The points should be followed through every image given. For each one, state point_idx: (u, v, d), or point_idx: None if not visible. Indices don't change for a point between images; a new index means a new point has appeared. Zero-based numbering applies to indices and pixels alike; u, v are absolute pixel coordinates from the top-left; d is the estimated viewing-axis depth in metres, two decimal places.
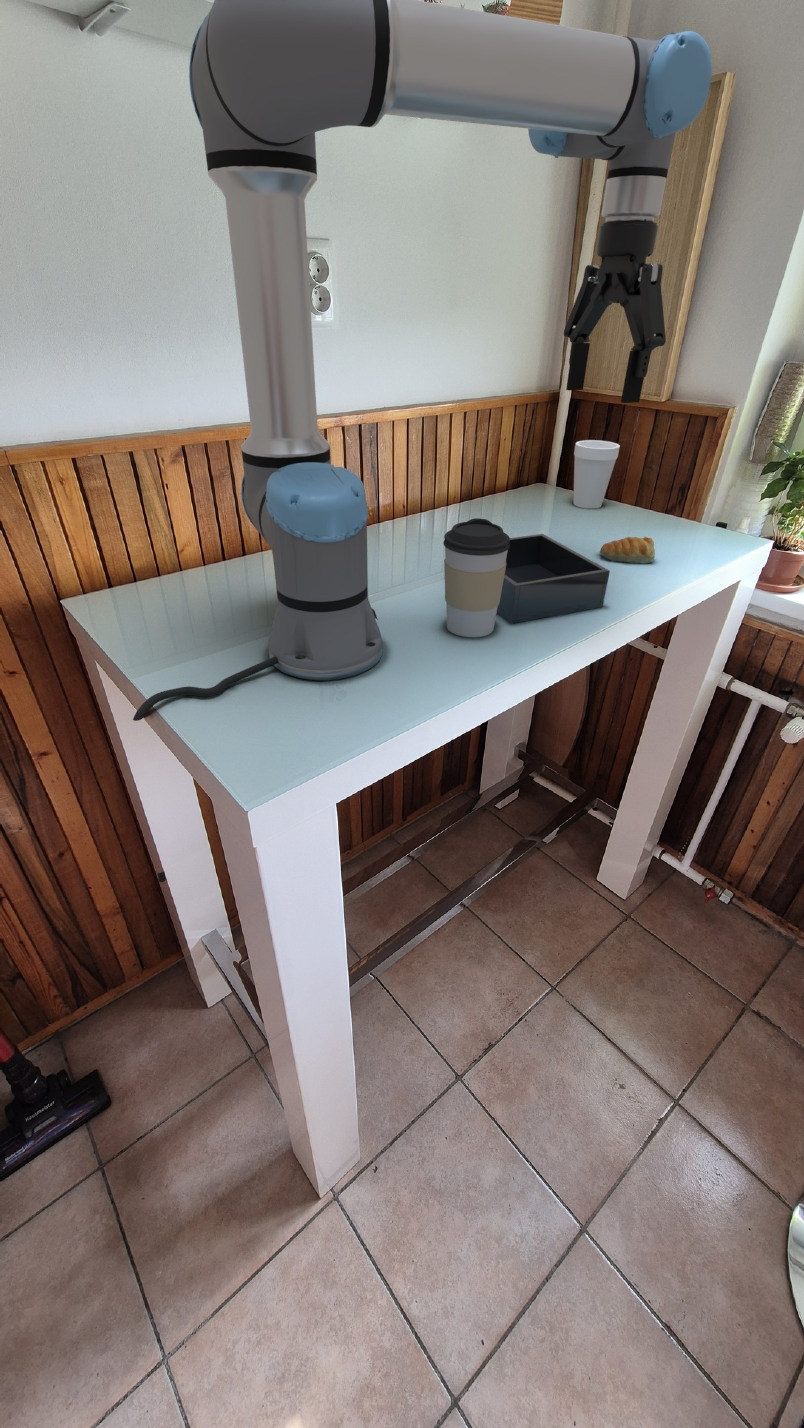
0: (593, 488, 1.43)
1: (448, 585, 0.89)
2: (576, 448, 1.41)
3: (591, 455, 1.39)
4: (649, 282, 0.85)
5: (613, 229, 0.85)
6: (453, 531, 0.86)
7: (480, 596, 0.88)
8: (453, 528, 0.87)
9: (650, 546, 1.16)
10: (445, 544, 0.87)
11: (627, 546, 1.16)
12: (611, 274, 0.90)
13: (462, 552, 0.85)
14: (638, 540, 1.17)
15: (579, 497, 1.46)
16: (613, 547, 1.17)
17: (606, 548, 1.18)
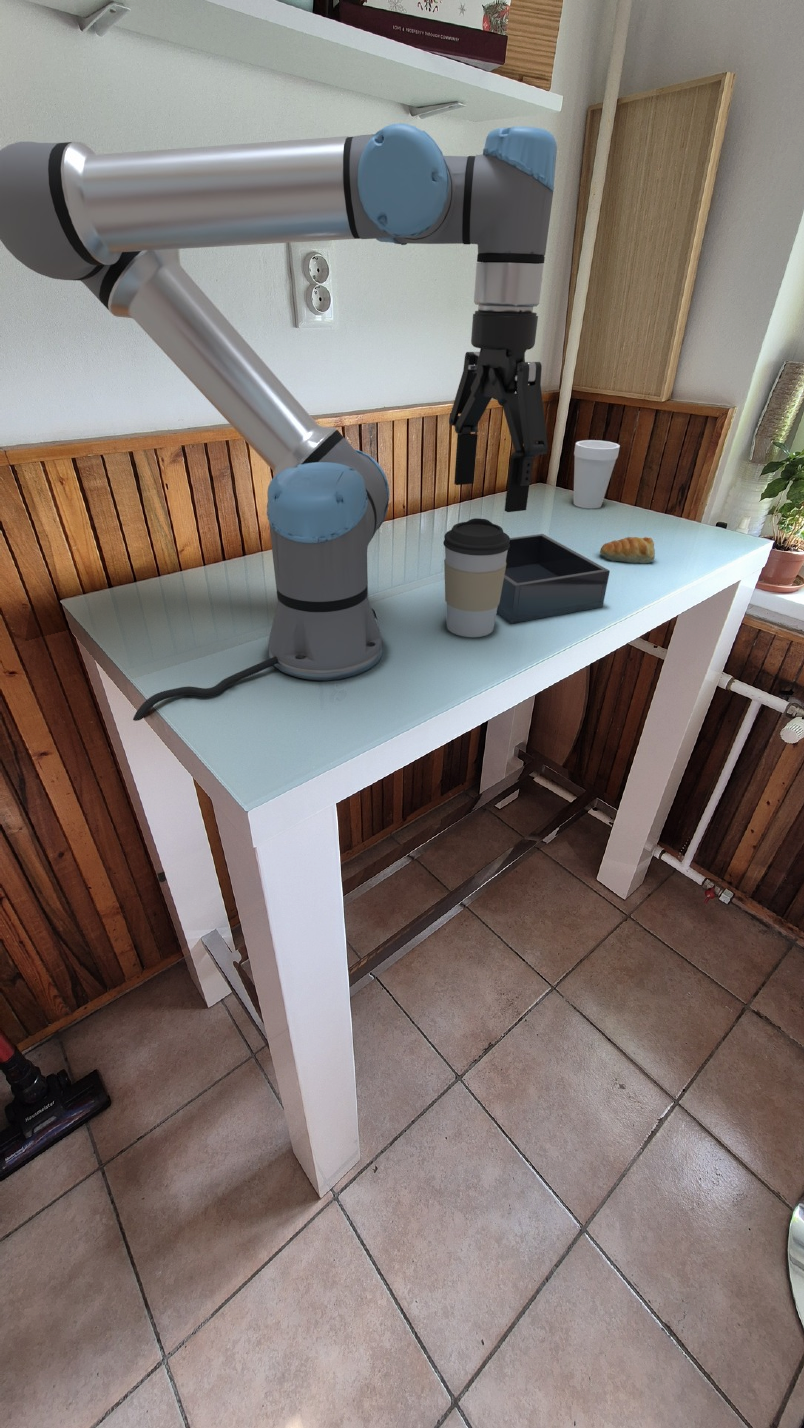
0: (593, 488, 1.43)
1: (448, 585, 0.89)
2: (576, 448, 1.41)
3: (591, 455, 1.39)
4: (526, 383, 0.73)
5: (484, 320, 0.73)
6: (453, 531, 0.86)
7: (480, 596, 0.88)
8: (453, 528, 0.87)
9: (650, 546, 1.16)
10: (445, 544, 0.87)
11: (627, 546, 1.16)
12: (489, 367, 0.78)
13: (462, 552, 0.85)
14: (638, 540, 1.17)
15: (579, 497, 1.46)
16: (613, 547, 1.17)
17: (606, 548, 1.18)
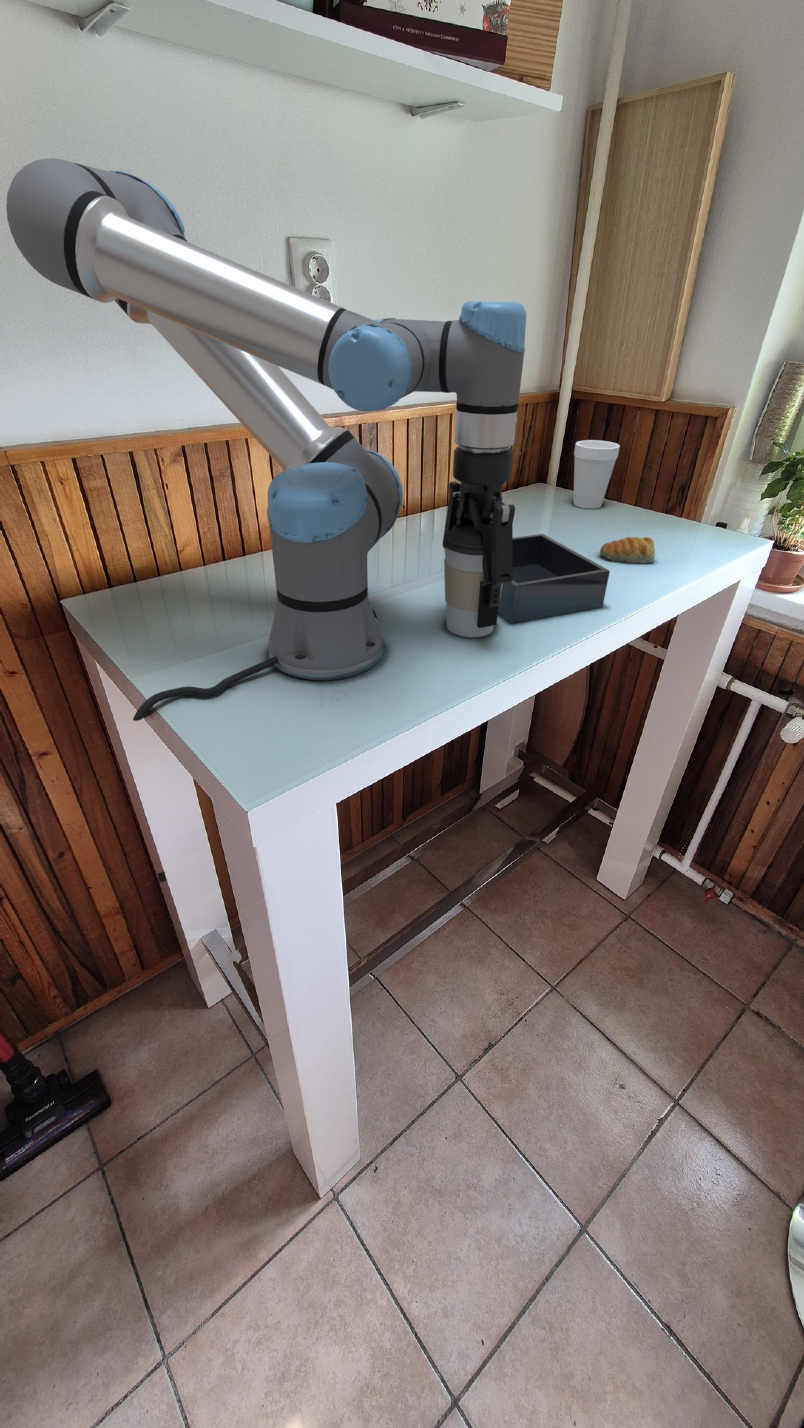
0: (593, 488, 1.43)
1: (448, 585, 0.89)
2: (576, 448, 1.41)
3: (591, 455, 1.39)
4: (499, 524, 0.80)
5: (463, 460, 0.79)
6: (453, 531, 0.86)
7: None
8: (453, 528, 0.87)
9: (650, 546, 1.16)
10: (445, 544, 0.87)
11: (627, 546, 1.16)
12: (470, 493, 0.84)
13: (462, 552, 0.85)
14: (638, 540, 1.17)
15: (579, 497, 1.46)
16: (613, 547, 1.17)
17: (606, 548, 1.18)
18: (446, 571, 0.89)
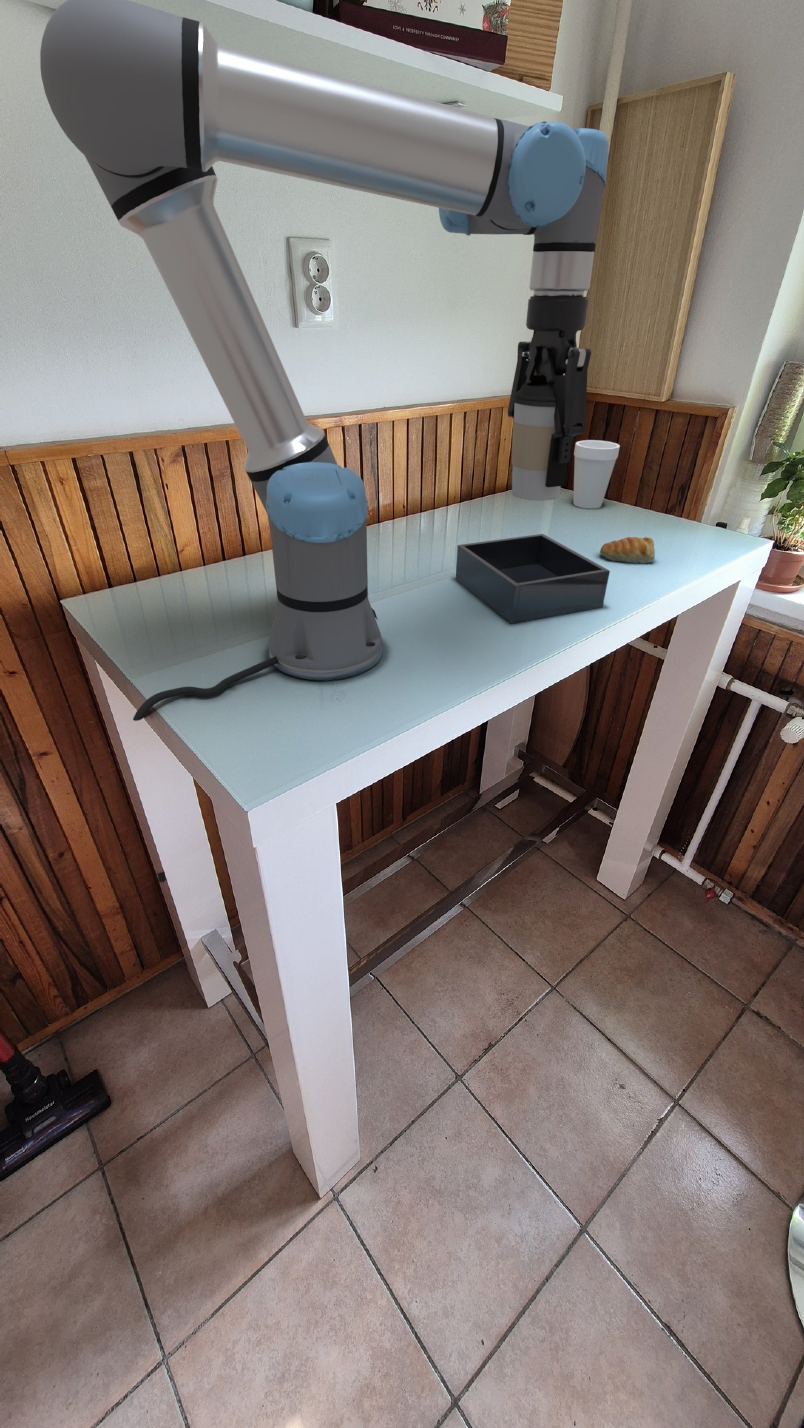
0: (593, 488, 1.43)
1: (517, 445, 0.90)
2: (576, 448, 1.41)
3: (591, 455, 1.39)
4: (575, 369, 0.81)
5: (539, 304, 0.80)
6: (524, 386, 0.87)
7: None
8: (524, 384, 0.88)
9: (650, 546, 1.16)
10: (516, 400, 0.88)
11: (627, 546, 1.16)
12: (542, 346, 0.85)
13: (534, 404, 0.86)
14: (638, 540, 1.17)
15: (579, 497, 1.46)
16: (613, 547, 1.17)
17: (606, 548, 1.18)
18: (515, 430, 0.90)
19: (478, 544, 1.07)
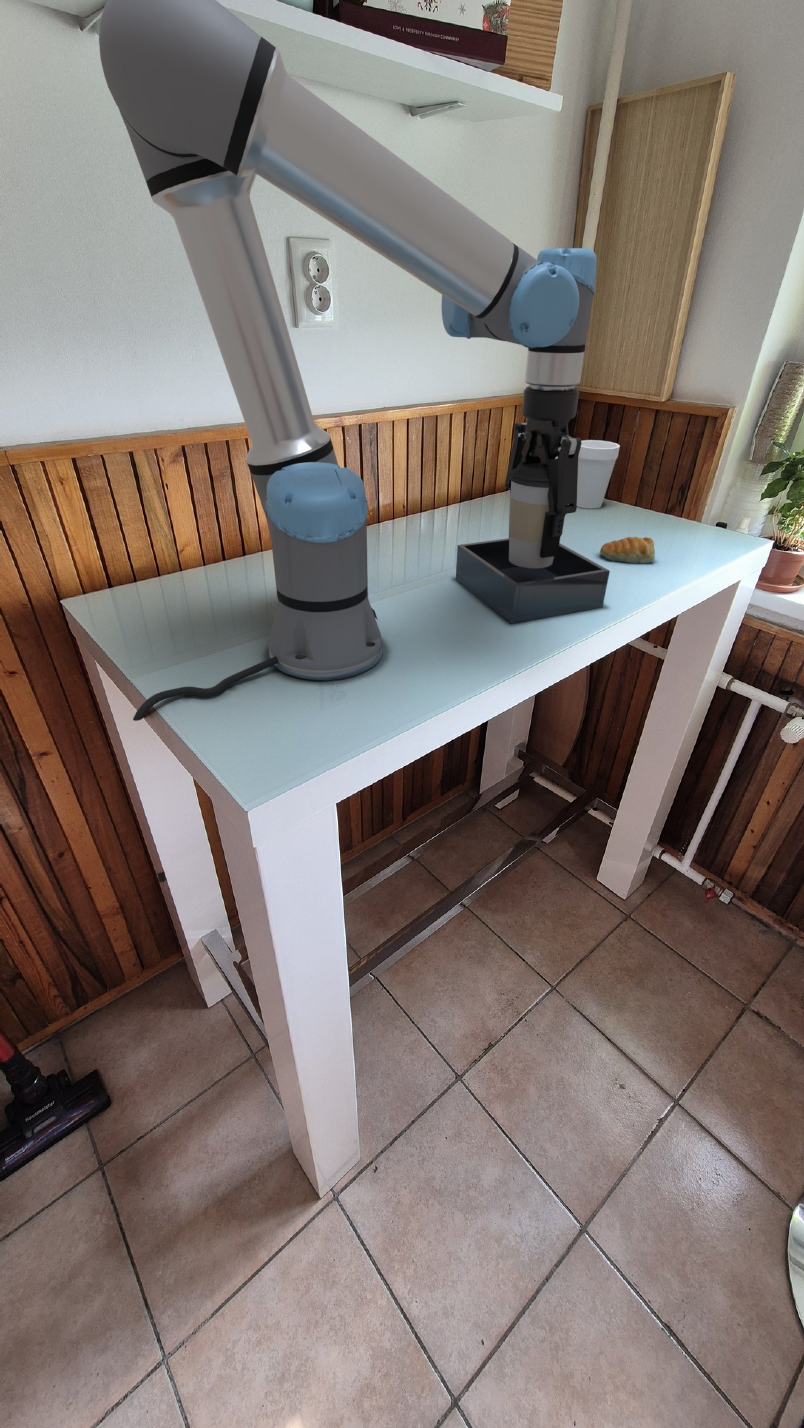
0: (593, 488, 1.43)
1: (513, 518, 0.97)
2: None
3: (591, 455, 1.39)
4: (567, 456, 0.88)
5: (534, 397, 0.87)
6: (520, 467, 0.94)
7: None
8: (520, 464, 0.95)
9: (650, 546, 1.16)
10: (512, 479, 0.95)
11: (627, 546, 1.16)
12: (536, 431, 0.92)
13: (530, 485, 0.92)
14: (638, 540, 1.17)
15: (579, 497, 1.46)
16: (613, 547, 1.17)
17: (606, 548, 1.18)
18: (512, 505, 0.97)
19: (478, 544, 1.07)
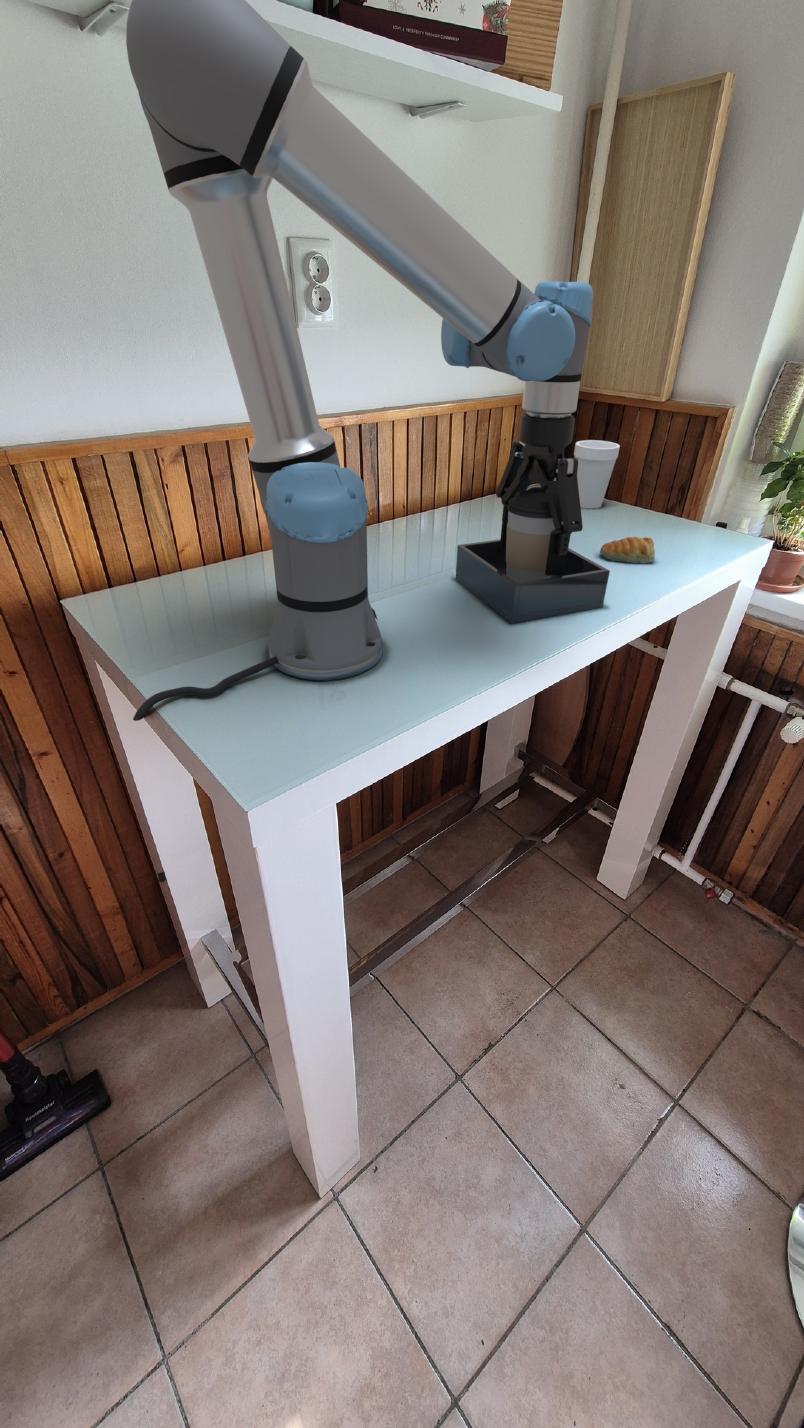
0: (593, 488, 1.43)
1: (510, 547, 1.00)
2: (576, 448, 1.41)
3: (591, 455, 1.39)
4: (566, 476, 0.89)
5: (531, 424, 0.89)
6: (517, 497, 0.96)
7: (540, 556, 0.98)
8: (517, 495, 0.97)
9: (650, 546, 1.16)
10: (509, 509, 0.97)
11: (627, 546, 1.16)
12: (534, 457, 0.94)
13: (526, 515, 0.95)
14: (638, 540, 1.17)
15: (579, 497, 1.46)
16: (613, 547, 1.17)
17: (606, 548, 1.18)
18: (509, 534, 0.99)
19: (478, 544, 1.07)
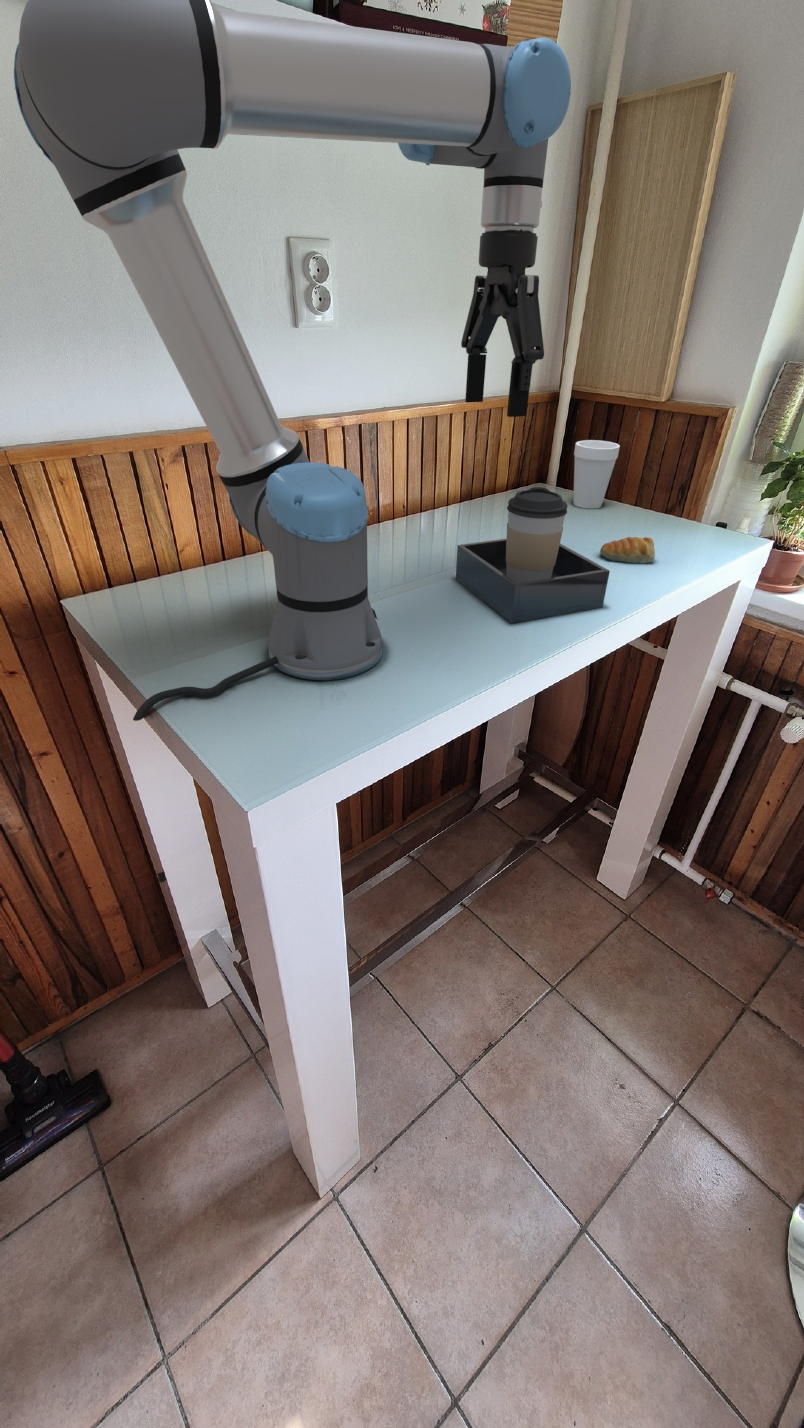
0: (593, 488, 1.43)
1: (510, 547, 1.00)
2: (576, 448, 1.41)
3: (591, 455, 1.39)
4: (525, 294, 0.82)
5: (489, 239, 0.83)
6: (517, 497, 0.96)
7: (540, 556, 0.98)
8: (517, 495, 0.97)
9: (650, 546, 1.16)
10: (509, 509, 0.97)
11: (627, 546, 1.16)
12: (495, 285, 0.88)
13: (526, 515, 0.95)
14: (638, 540, 1.17)
15: (579, 497, 1.46)
16: (613, 547, 1.17)
17: (606, 548, 1.18)
18: (509, 534, 0.99)
19: (478, 544, 1.07)
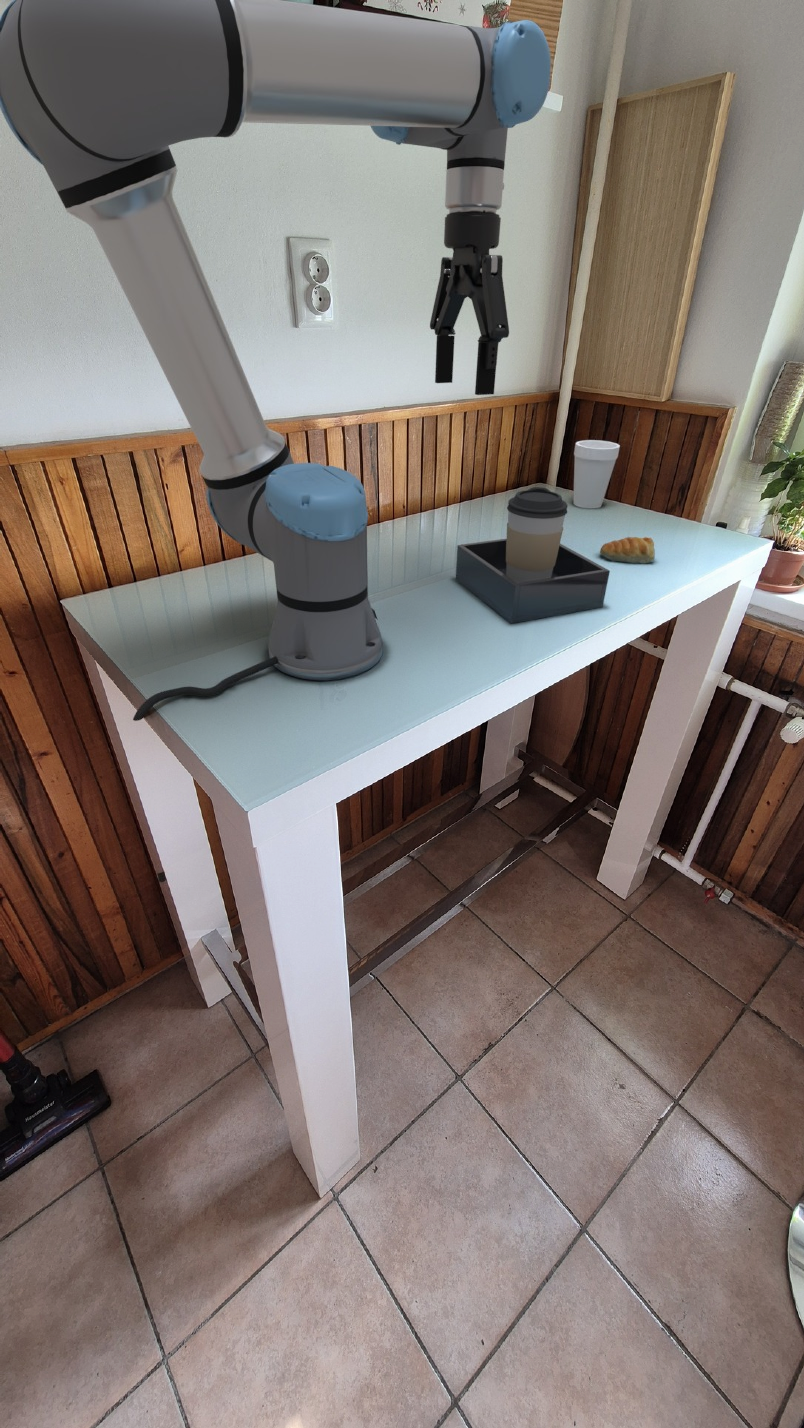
0: (593, 488, 1.43)
1: (510, 547, 1.00)
2: (576, 448, 1.41)
3: (591, 455, 1.39)
4: (490, 274, 0.85)
5: (453, 220, 0.85)
6: (517, 497, 0.96)
7: (540, 556, 0.98)
8: (517, 495, 0.97)
9: (650, 546, 1.16)
10: (509, 509, 0.97)
11: (627, 546, 1.16)
12: (460, 266, 0.90)
13: (526, 515, 0.95)
14: (638, 540, 1.17)
15: (579, 497, 1.46)
16: (613, 547, 1.17)
17: (606, 548, 1.18)
18: (509, 534, 0.99)
19: (478, 544, 1.07)
